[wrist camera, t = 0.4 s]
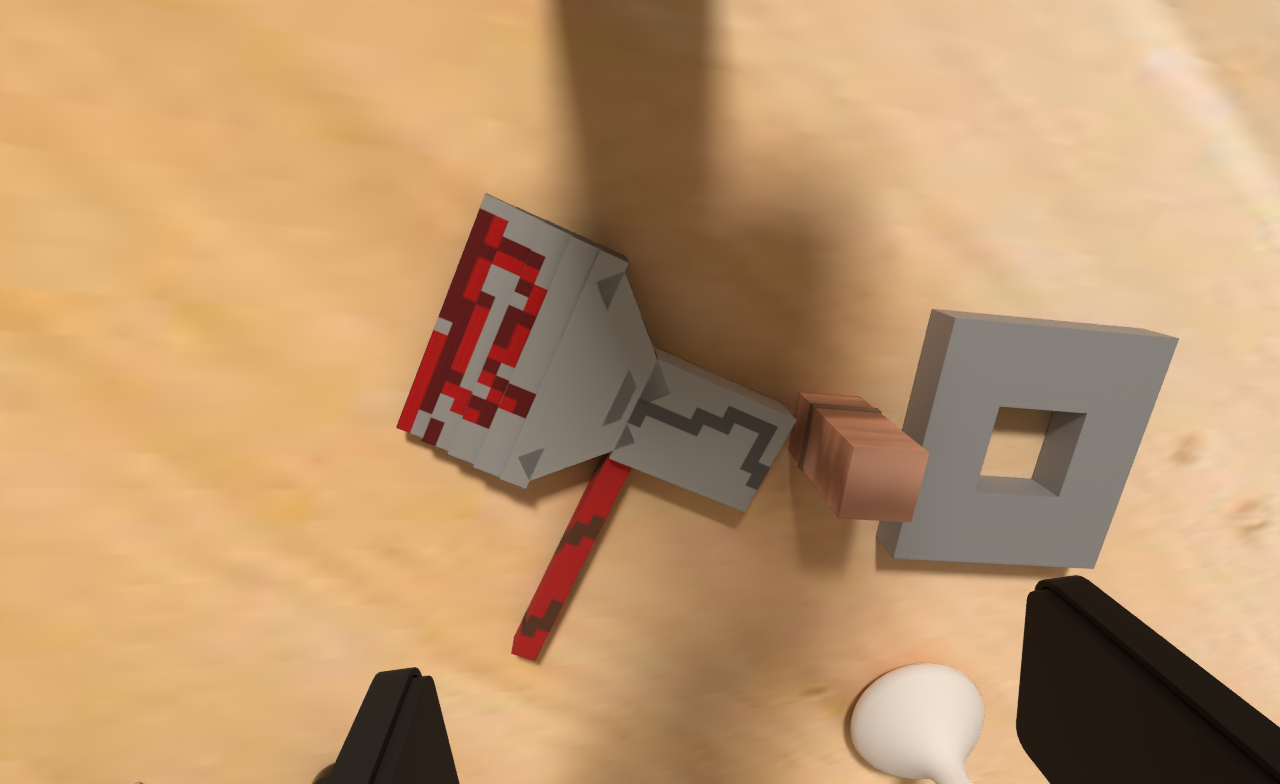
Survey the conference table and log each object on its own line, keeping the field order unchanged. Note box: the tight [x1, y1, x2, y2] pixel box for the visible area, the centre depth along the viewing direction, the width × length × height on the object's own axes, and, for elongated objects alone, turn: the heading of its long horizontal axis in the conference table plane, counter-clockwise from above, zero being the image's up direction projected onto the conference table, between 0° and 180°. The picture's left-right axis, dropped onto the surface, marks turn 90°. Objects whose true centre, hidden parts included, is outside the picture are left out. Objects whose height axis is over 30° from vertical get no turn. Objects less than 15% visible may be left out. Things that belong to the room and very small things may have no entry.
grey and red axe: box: [396, 194, 797, 661], centre depth 45 cm, size 24×4×30 cm
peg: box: [789, 392, 929, 522], centre depth 42 cm, size 5×5×10 cm
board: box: [876, 309, 1179, 569], centre depth 46 cm, size 18×16×3 cm
